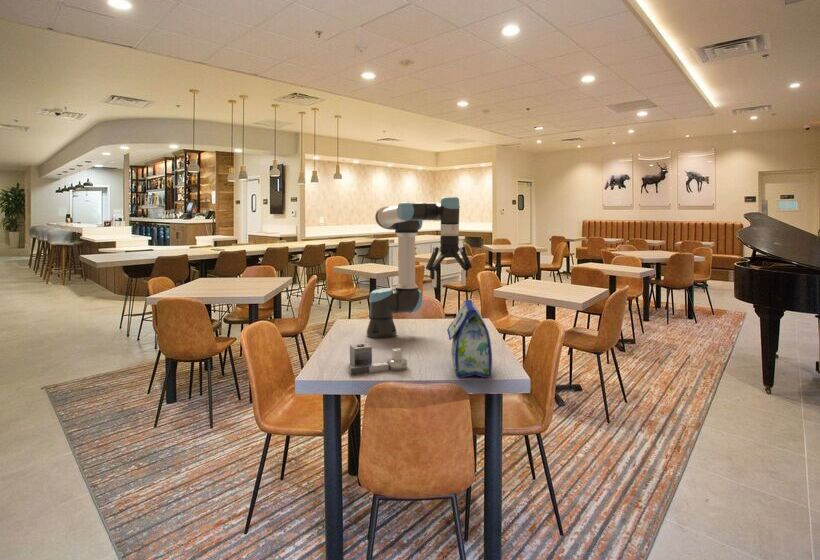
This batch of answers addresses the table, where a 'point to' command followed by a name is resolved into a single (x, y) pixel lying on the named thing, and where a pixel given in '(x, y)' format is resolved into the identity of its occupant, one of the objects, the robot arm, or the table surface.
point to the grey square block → (360, 354)
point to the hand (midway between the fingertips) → (448, 286)
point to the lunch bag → (470, 343)
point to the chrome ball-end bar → (381, 365)
